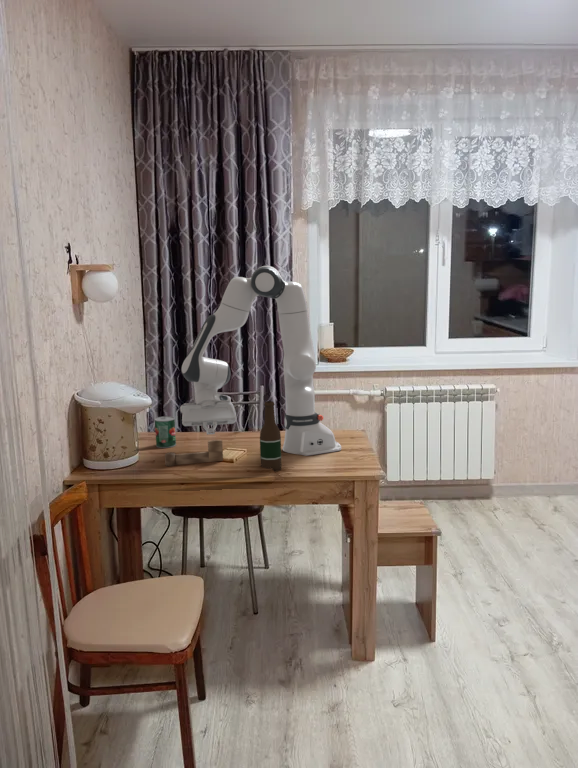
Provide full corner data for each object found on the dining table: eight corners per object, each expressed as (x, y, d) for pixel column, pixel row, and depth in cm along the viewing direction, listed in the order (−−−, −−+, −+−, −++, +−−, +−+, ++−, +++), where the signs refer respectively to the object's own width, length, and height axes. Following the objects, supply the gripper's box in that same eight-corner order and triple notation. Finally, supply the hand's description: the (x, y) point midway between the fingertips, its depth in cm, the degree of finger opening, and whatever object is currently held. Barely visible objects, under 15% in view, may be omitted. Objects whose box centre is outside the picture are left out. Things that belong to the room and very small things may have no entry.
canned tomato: (178, 446, 270) (177, 419, 268) (159, 449, 267) (157, 421, 265) (172, 441, 277) (171, 415, 275) (153, 444, 274) (152, 417, 272)
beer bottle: (256, 467, 240) (254, 400, 236) (277, 464, 243) (275, 398, 239) (264, 473, 233) (262, 405, 229) (285, 470, 236) (284, 402, 232)
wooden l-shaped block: (220, 454, 252) (219, 435, 250) (223, 461, 243) (222, 441, 242) (164, 459, 247) (163, 439, 246) (165, 466, 239) (164, 446, 237)
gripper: (180, 399, 254) (182, 430, 246) (234, 396, 258) (238, 427, 251) (179, 408, 259) (182, 439, 251) (232, 405, 264) (237, 436, 256)
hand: (210, 433), depth 251 cm, fingers closed
